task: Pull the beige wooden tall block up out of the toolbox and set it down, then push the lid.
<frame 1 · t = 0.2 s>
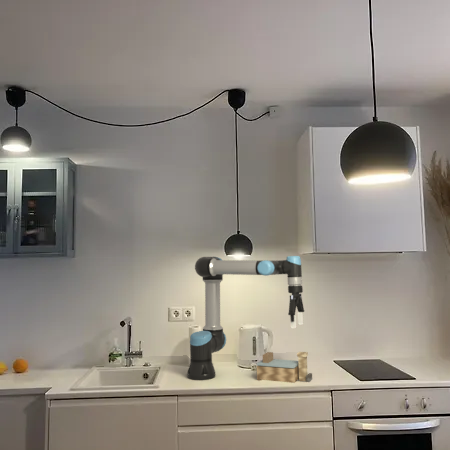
hand: (297, 326, 233), 27 cm above the countertop, fingers open, 13 cm apart
beige wooden tall block: (303, 380, 226), resting on toolbox
toolbox: (279, 378, 232), on the countertop
lid: (278, 359, 233), point 10 cm above the countertop, slide at 0.0 cm
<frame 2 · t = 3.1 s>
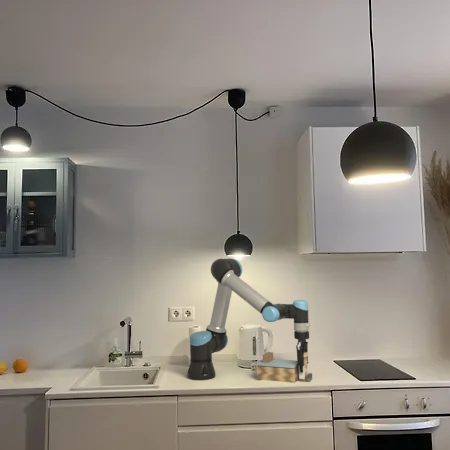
hand: (303, 377, 227), 2 cm above the countertop, fingers closed on beige wooden tall block, 3 cm apart
beige wooden tall block: (303, 380, 226), resting on toolbox, touching gripper
everything else where it was.
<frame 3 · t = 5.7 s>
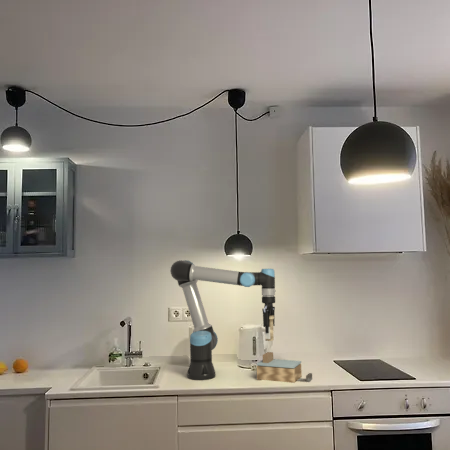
hand: (269, 338, 250), 18 cm above the countertop, fingers closed on beige wooden tall block, 3 cm apart
beige wooden tall block: (269, 340, 249), point 17 cm above the countertop, touching gripper
everything else where it was.
when the fingers open (3 cm above the countertop, at t = 8.1 s): beige wooden tall block drops 1 cm, on the countertop.
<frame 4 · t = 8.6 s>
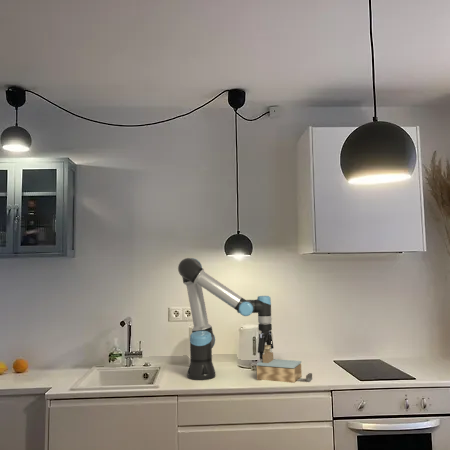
hand: (266, 362, 252), 4 cm above the countertop, fingers open, 11 cm apart
beige wooden tall block: (266, 370, 251), on the countertop
everything else where it was.
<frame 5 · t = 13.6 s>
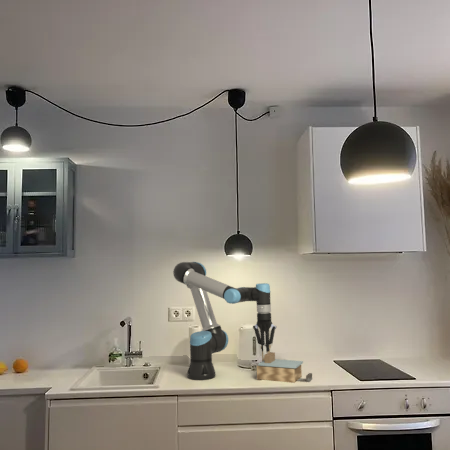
hand: (265, 357, 236), 10 cm above the countertop, fingers closed
lid: (280, 359, 232), point 10 cm above the countertop, slide at 1.0 cm, touching gripper
everything else where it was.
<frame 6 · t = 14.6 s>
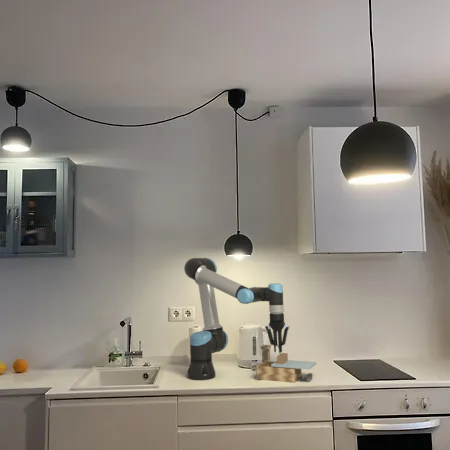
hand: (278, 358, 233), 10 cm above the countertop, fingers closed
lid: (293, 360, 229), point 10 cm above the countertop, slide at 8.0 cm, touching gripper
everything else where it was.
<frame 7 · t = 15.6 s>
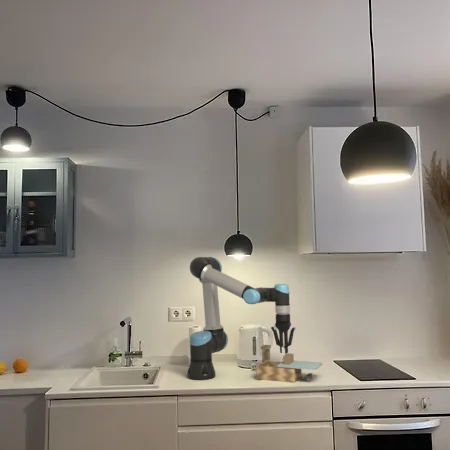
hand: (284, 359, 231), 10 cm above the countertop, fingers closed
lid: (299, 360, 228), point 10 cm above the countertop, slide at 11.2 cm, touching gripper
everything else where it was.
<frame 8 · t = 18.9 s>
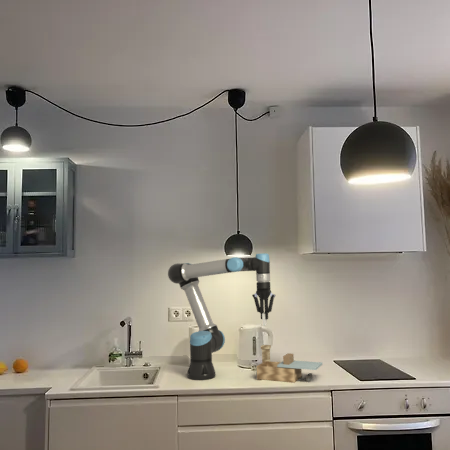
hand: (264, 325, 242), 26 cm above the countertop, fingers closed
lid: (299, 360, 228), point 10 cm above the countertop, slide at 11.2 cm
everything else where it was.
at the end: lid slide at 11.2 cm; beige wooden tall block moved 30.0 cm from its start; the gripper is holding nothing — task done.
